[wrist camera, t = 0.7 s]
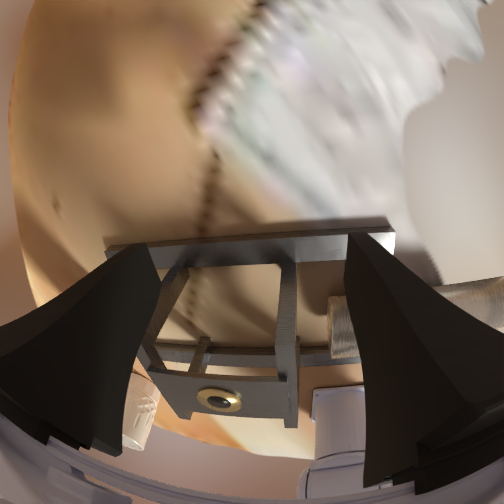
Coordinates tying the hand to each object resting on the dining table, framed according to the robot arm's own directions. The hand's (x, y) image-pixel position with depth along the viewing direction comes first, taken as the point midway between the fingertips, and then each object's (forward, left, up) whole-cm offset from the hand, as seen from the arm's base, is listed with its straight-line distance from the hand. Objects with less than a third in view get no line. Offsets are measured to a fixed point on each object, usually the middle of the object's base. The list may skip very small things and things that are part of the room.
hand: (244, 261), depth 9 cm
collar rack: (-11, +3, -10) cm, 15 cm away
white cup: (-27, +22, -10) cm, 36 cm away
